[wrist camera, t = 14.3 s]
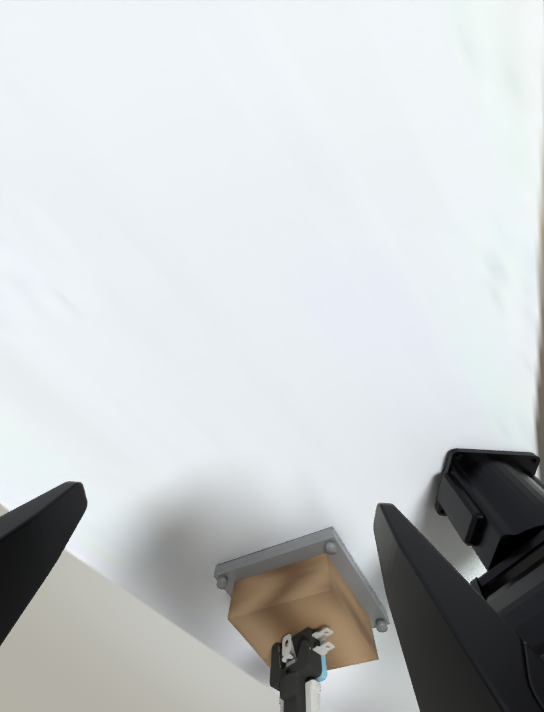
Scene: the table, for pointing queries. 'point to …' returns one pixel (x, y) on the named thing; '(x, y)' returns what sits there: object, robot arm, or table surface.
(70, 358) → the table surface
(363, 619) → the tan flat square block
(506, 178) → the table surface
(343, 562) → the base plate
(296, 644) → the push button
